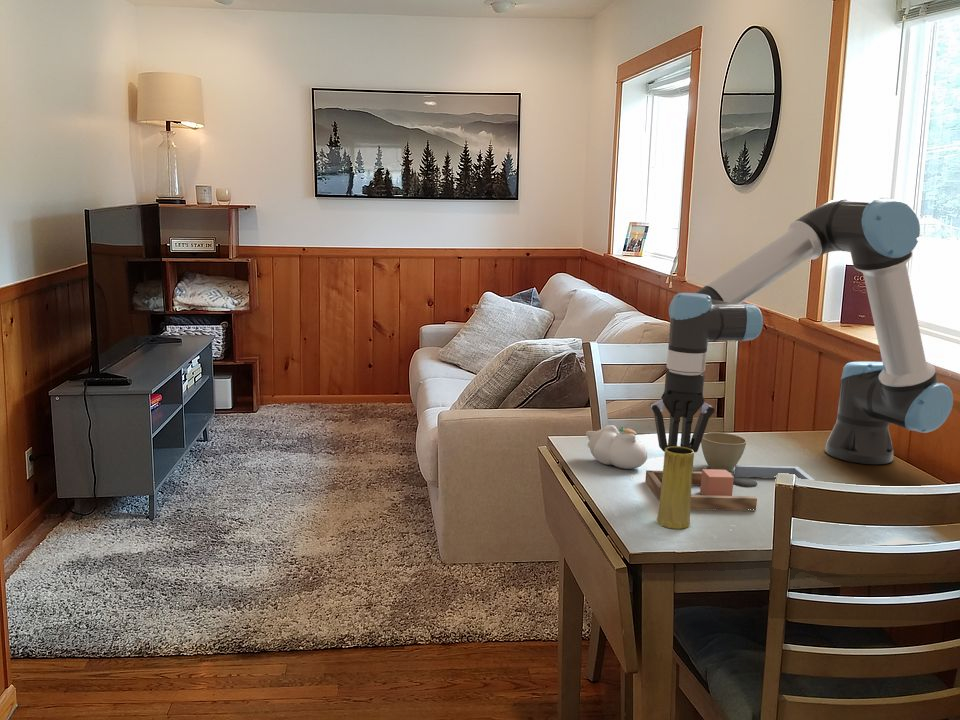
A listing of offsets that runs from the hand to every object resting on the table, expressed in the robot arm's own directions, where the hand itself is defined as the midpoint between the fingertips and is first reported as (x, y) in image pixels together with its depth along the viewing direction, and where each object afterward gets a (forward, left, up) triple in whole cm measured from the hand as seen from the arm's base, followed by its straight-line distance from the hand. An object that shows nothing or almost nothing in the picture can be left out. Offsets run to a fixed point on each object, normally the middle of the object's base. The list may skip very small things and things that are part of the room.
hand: (675, 484), depth 185 cm
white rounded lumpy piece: (+8, -20, -3) cm, 22 cm away
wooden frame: (-6, 0, -2) cm, 6 cm away
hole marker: (-18, -9, -2) cm, 20 cm away
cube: (-9, 0, -2) cm, 9 cm away
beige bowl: (-16, -19, -3) cm, 25 cm away
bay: (-24, -9, -2) cm, 26 cm away
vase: (+4, +16, -3) cm, 17 cm away
